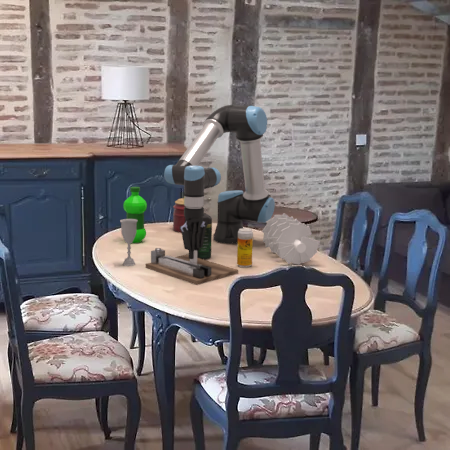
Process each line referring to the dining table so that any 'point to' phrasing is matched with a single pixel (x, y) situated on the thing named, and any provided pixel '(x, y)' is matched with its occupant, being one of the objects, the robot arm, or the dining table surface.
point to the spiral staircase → (289, 239)
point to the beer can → (244, 247)
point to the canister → (178, 215)
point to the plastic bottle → (136, 212)
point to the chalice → (128, 237)
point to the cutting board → (216, 273)
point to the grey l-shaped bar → (174, 264)
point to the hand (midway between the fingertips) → (193, 266)
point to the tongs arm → (192, 264)
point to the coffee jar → (206, 239)
